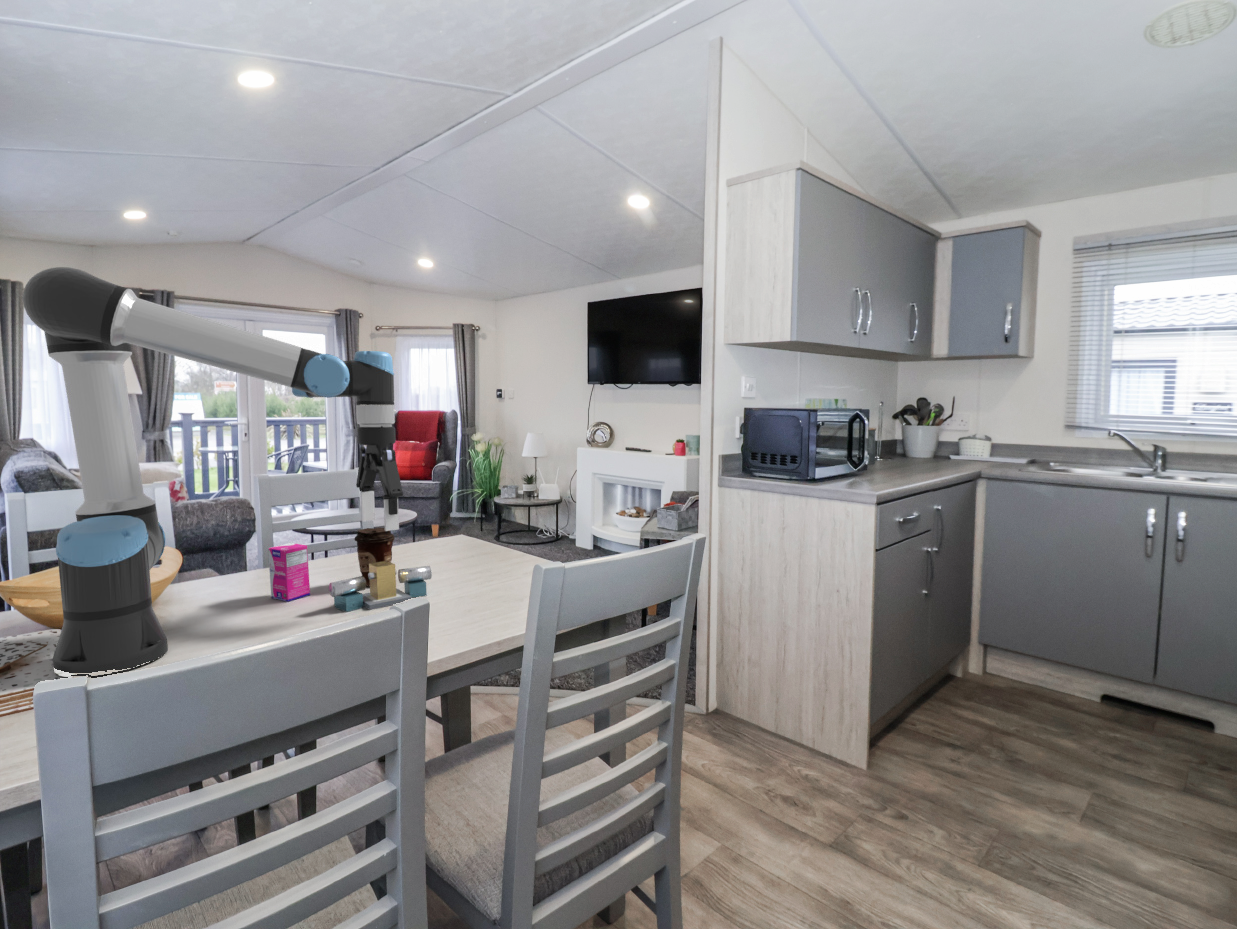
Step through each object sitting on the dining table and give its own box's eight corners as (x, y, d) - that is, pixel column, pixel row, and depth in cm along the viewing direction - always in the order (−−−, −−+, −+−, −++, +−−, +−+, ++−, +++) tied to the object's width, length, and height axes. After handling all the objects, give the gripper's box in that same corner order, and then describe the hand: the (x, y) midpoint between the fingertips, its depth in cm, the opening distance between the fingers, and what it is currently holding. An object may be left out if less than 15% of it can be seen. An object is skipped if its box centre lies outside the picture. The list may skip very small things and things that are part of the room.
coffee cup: (369, 591, 149) (366, 534, 147) (349, 585, 154) (346, 530, 152) (402, 582, 155) (400, 528, 154) (382, 577, 160) (380, 524, 159)
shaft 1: (339, 613, 133) (338, 584, 132) (327, 609, 136) (326, 580, 135) (369, 606, 138) (368, 578, 137) (357, 601, 141) (356, 574, 140)
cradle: (369, 609, 135) (369, 604, 135) (354, 599, 142) (354, 595, 142) (411, 601, 141) (411, 596, 141) (395, 592, 148) (395, 587, 148)
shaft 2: (402, 599, 142) (401, 572, 142) (397, 593, 147) (396, 567, 146) (433, 594, 146) (432, 568, 145) (427, 589, 150) (426, 563, 149)
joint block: (374, 600, 138) (372, 568, 137) (366, 596, 141) (365, 564, 141) (400, 595, 142) (398, 563, 141) (392, 591, 145) (390, 560, 144)
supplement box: (269, 598, 143) (266, 547, 142) (294, 591, 148) (291, 542, 147) (287, 602, 141) (284, 550, 139) (311, 595, 146) (308, 544, 145)
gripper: (417, 427, 131) (420, 531, 133) (372, 423, 150) (376, 515, 152) (380, 427, 126) (384, 536, 128) (338, 424, 145) (342, 519, 147)
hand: (379, 525), depth 140 cm, fingers open, 13 cm apart
